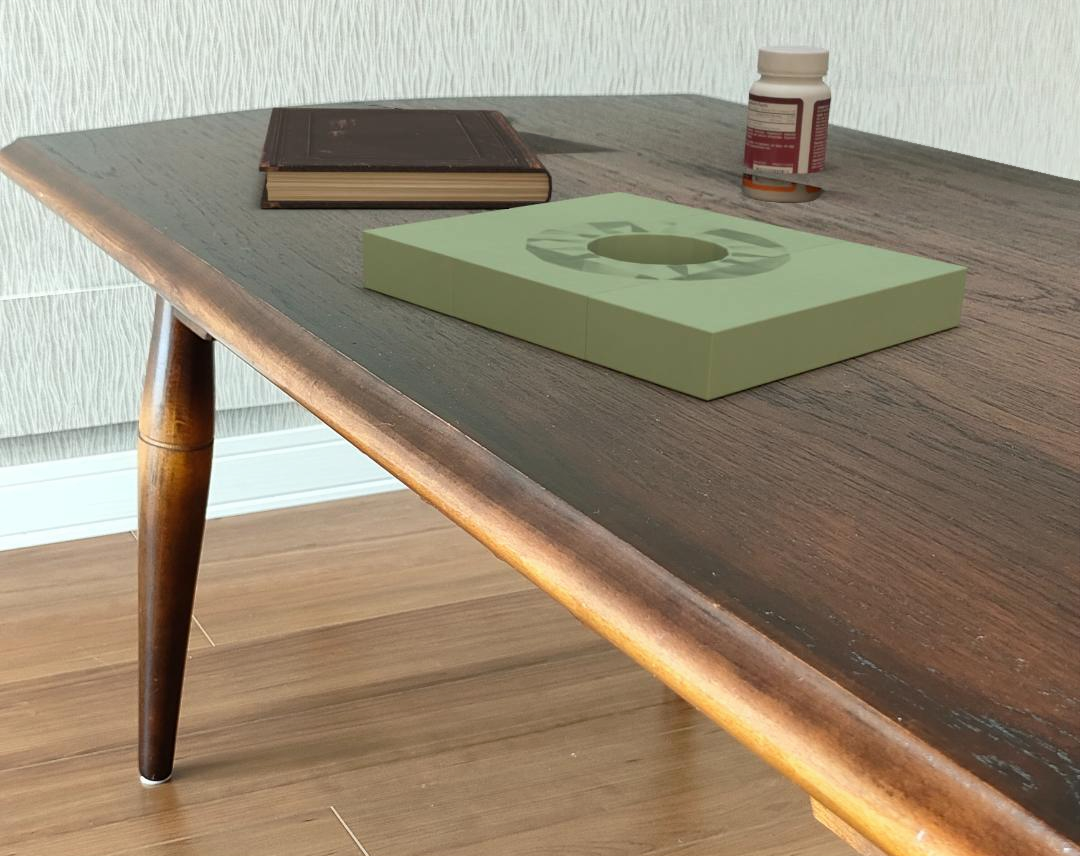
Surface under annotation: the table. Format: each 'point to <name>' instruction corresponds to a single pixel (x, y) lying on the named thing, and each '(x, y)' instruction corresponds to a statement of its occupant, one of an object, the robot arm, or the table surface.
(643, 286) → the socket pad
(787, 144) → the pill bottle
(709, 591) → the table surface
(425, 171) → the hardcover book
